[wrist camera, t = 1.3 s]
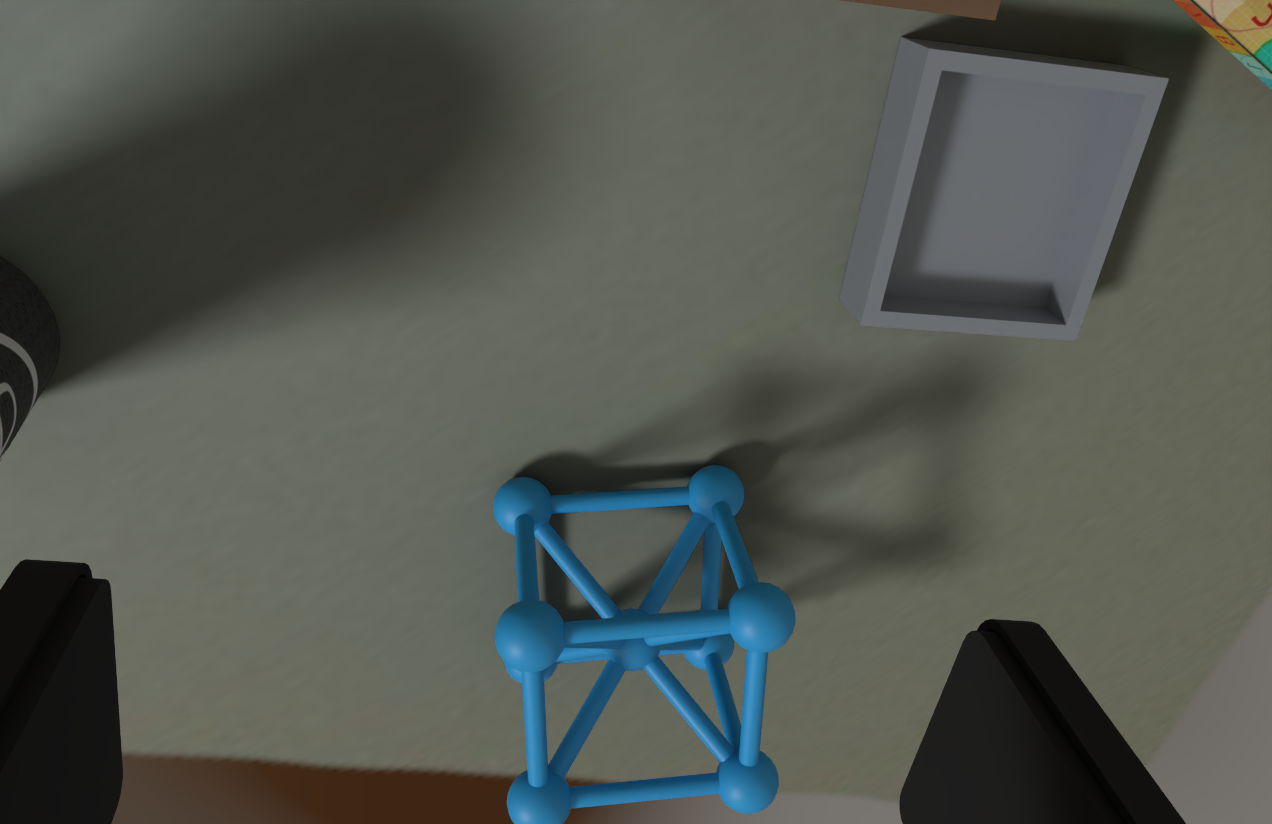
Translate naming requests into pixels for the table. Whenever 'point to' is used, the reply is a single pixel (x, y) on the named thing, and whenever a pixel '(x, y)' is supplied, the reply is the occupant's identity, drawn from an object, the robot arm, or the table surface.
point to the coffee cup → (23, 349)
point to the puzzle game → (1238, 30)
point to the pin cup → (944, 6)
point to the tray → (995, 189)
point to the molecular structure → (641, 646)
